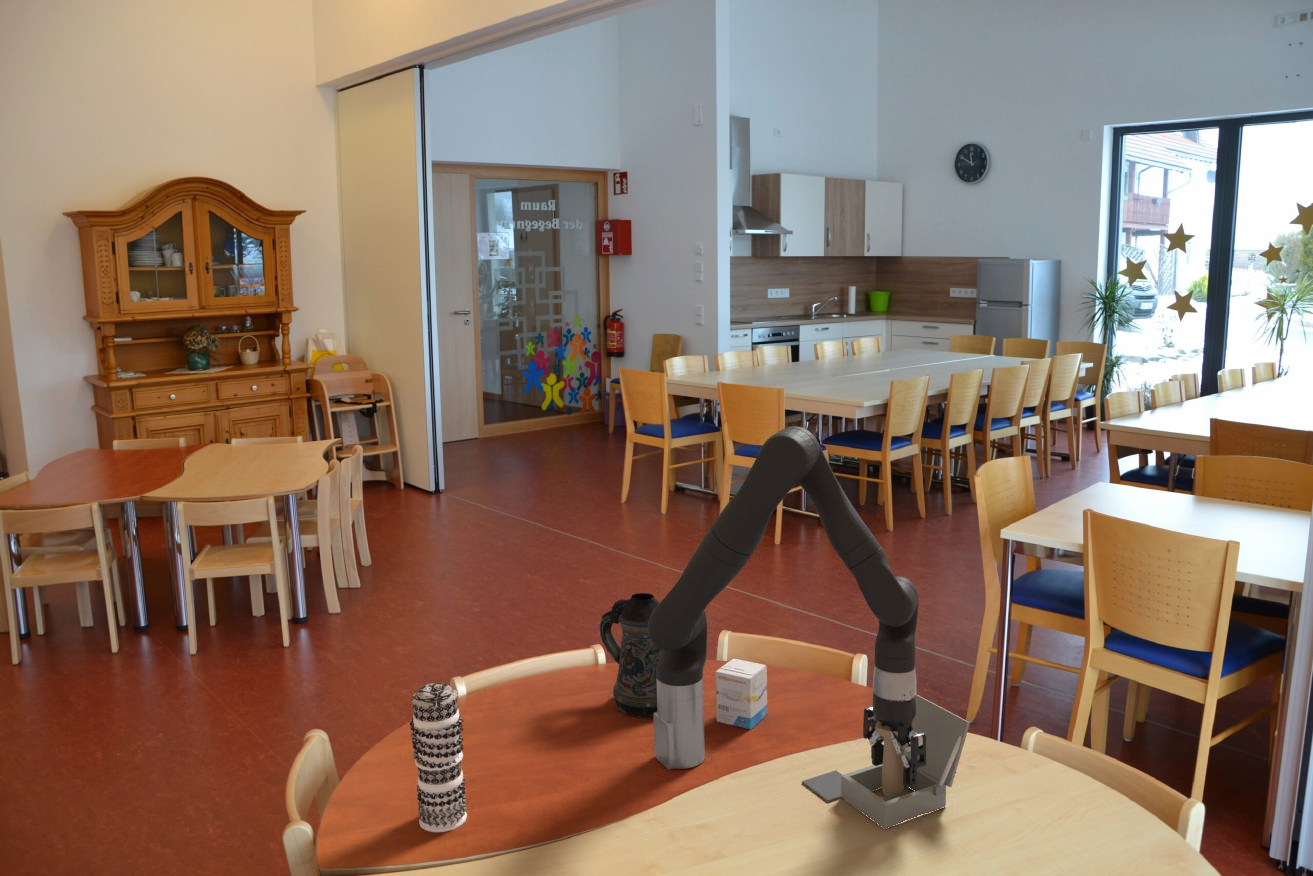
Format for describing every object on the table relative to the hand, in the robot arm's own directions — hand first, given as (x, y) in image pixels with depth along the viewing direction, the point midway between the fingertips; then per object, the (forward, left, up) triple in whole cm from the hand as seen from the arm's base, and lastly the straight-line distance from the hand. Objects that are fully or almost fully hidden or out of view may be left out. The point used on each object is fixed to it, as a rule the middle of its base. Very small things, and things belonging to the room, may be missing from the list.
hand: (893, 774), depth 177 cm
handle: (0, 0, -6) cm, 6 cm away
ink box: (-5, +43, -6) cm, 44 cm away
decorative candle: (-73, +36, -6) cm, 82 cm away
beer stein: (-20, +61, -6) cm, 64 cm away
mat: (-6, +10, -6) cm, 13 cm away
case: (+2, 0, -6) cm, 6 cm away
